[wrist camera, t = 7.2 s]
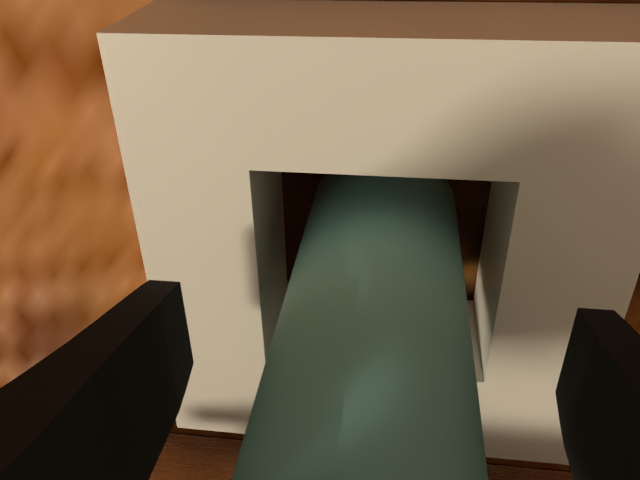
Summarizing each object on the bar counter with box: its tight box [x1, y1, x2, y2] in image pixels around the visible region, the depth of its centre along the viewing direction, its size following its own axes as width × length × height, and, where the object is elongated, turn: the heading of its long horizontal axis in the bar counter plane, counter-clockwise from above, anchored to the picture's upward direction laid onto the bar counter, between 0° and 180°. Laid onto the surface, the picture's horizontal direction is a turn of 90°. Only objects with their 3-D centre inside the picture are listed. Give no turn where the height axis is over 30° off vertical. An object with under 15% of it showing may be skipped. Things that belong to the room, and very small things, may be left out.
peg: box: [231, 174, 488, 480], centre depth 11 cm, size 4×4×9 cm
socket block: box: [97, 0, 640, 465], centre depth 14 cm, size 10×10×3 cm
